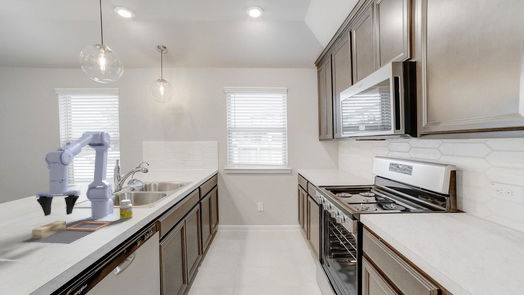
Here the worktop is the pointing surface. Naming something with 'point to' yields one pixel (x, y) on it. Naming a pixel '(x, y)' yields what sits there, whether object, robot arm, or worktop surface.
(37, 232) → the cream long block
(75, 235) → the rubber mat
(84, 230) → the terracotta frame
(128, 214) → the supplement bottle
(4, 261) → the worktop surface
